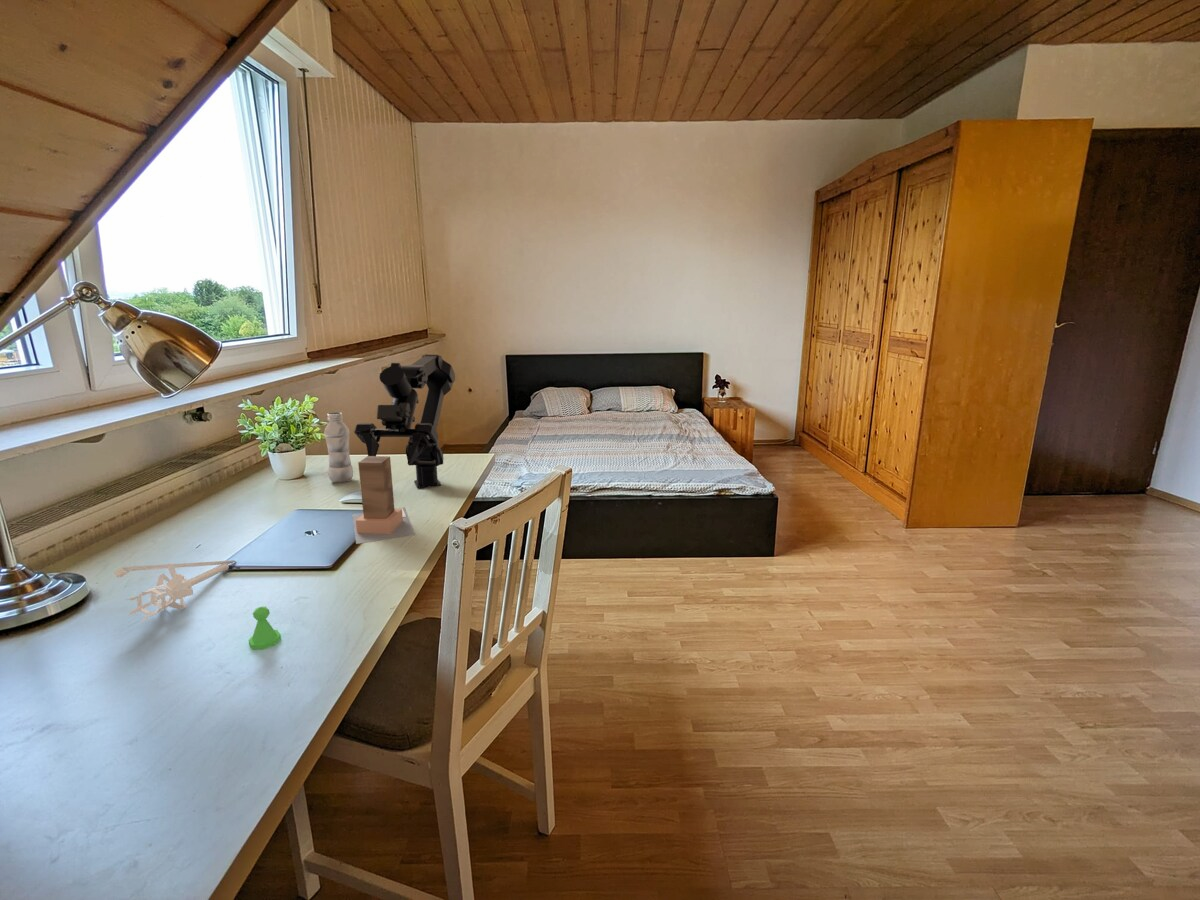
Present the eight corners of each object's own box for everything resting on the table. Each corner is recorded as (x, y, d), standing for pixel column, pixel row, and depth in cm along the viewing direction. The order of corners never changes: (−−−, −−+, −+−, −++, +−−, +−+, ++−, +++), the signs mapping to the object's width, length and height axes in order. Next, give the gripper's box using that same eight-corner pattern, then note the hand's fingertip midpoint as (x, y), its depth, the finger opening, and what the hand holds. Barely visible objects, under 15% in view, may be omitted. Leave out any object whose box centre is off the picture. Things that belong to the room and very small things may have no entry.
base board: (352, 518, 134) (352, 513, 133) (404, 511, 139) (404, 506, 138) (356, 548, 118) (356, 542, 118) (415, 538, 123) (415, 533, 123)
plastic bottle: (337, 477, 164) (330, 410, 158) (359, 478, 163) (352, 411, 157) (324, 484, 157) (316, 415, 152) (346, 485, 156) (339, 416, 151)
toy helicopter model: (239, 609, 110) (118, 630, 85) (223, 569, 111) (100, 578, 87) (266, 594, 110) (153, 610, 85) (250, 553, 111) (134, 558, 87)
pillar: (373, 510, 128) (368, 456, 125) (394, 510, 128) (390, 456, 125) (363, 518, 124) (358, 462, 120) (386, 518, 124) (381, 462, 120)
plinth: (371, 519, 130) (370, 508, 130) (402, 520, 130) (401, 508, 130) (356, 532, 123) (355, 520, 122) (390, 533, 123) (389, 521, 122)
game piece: (252, 636, 87) (246, 602, 86) (283, 631, 89) (278, 597, 87) (246, 652, 83) (240, 617, 82) (278, 646, 85) (273, 611, 83)
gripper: (352, 390, 132) (335, 447, 124) (429, 390, 131) (417, 448, 124) (371, 415, 142) (356, 470, 134) (443, 415, 141) (432, 470, 133)
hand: (389, 464), depth 131 cm, fingers open, 9 cm apart
